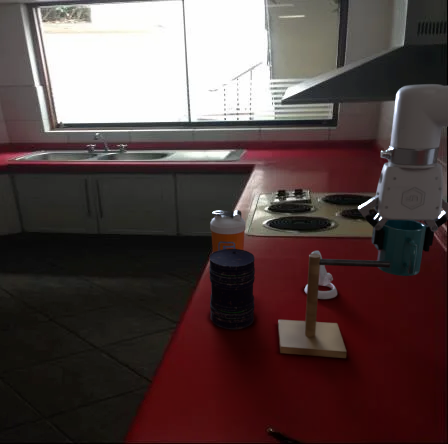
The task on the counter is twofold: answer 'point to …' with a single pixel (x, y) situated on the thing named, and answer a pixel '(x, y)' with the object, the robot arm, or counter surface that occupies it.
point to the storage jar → (232, 288)
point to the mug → (402, 247)
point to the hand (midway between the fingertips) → (400, 247)
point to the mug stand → (310, 329)
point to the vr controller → (324, 282)
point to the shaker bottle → (227, 230)
